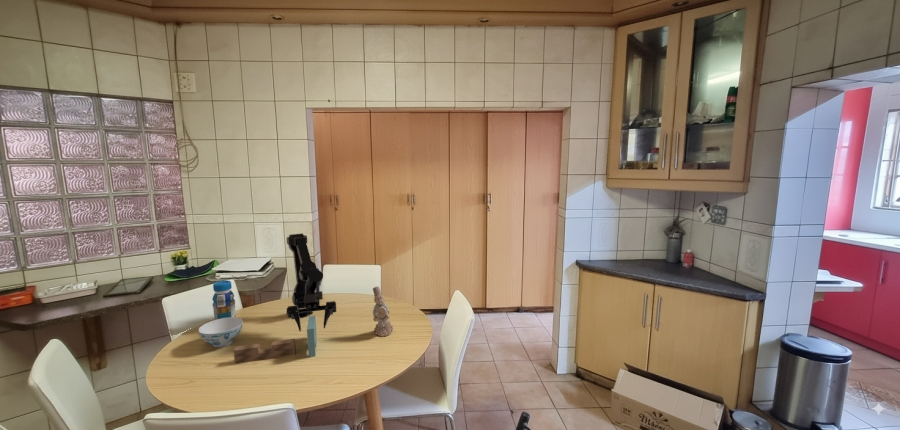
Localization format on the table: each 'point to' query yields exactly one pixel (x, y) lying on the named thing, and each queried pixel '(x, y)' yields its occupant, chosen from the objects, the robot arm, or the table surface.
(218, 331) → the chinaware
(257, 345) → the walnut slotted rail
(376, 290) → the figurine
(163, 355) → the table surface
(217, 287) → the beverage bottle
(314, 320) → the teal slotted plate
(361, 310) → the table surface
